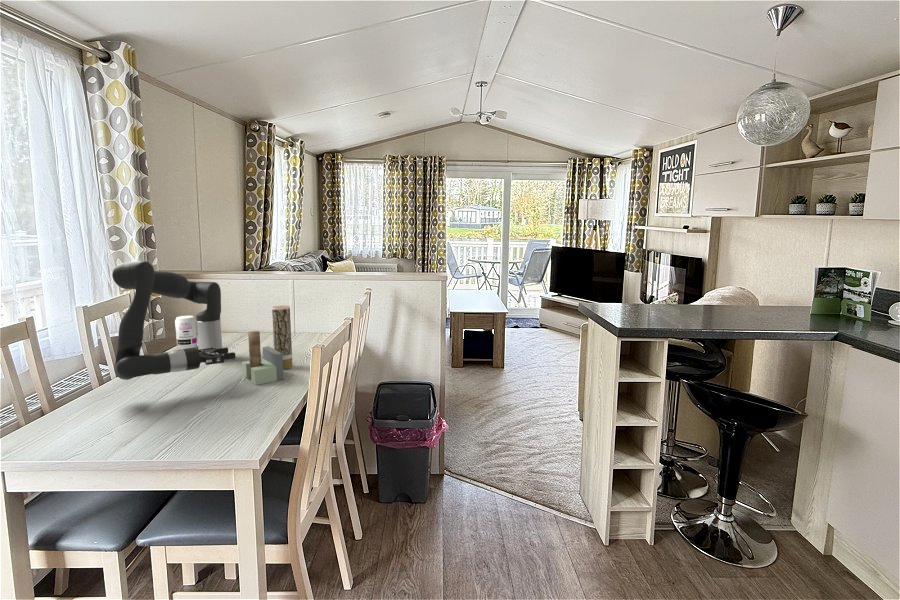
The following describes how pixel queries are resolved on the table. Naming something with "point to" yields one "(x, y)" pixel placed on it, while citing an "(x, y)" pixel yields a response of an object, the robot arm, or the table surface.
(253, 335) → the brown banded cylinder
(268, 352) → the wall
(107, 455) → the table surface
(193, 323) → the supplement can
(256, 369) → the cradle
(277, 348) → the brown bark cylinder
